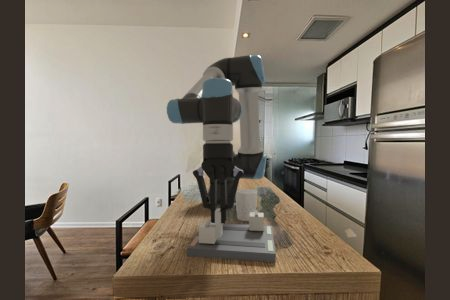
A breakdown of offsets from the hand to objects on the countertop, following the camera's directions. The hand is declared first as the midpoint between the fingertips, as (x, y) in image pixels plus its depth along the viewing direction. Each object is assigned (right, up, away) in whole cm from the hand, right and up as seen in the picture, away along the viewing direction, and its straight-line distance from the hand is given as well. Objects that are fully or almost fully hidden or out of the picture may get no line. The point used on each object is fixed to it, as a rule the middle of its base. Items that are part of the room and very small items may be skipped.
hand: (218, 235), depth 59 cm
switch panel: (+4, -4, +5) cm, 7 cm away
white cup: (+9, -3, +25) cm, 27 cm away
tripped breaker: (-3, -1, 0) cm, 3 cm away
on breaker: (+11, -1, +8) cm, 14 cm away
